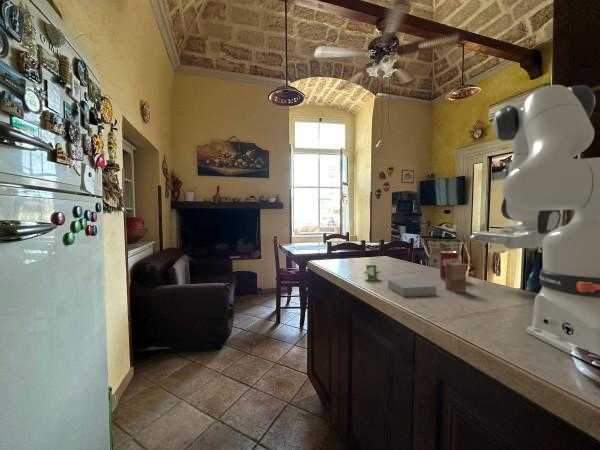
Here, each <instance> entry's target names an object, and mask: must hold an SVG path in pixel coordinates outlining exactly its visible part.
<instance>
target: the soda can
mask: <svg viewBox="0 0 600 450" xmlns="http://www.w3.org/2000/svg"><path fill="white" fill-rule="evenodd" d="M454 262H457V263H460V255H459V252H458V251H456V250H455V251H454V250H440V251H439V278H440V279H441V280H443V281H446V264H445V263H454Z"/></svg>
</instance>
